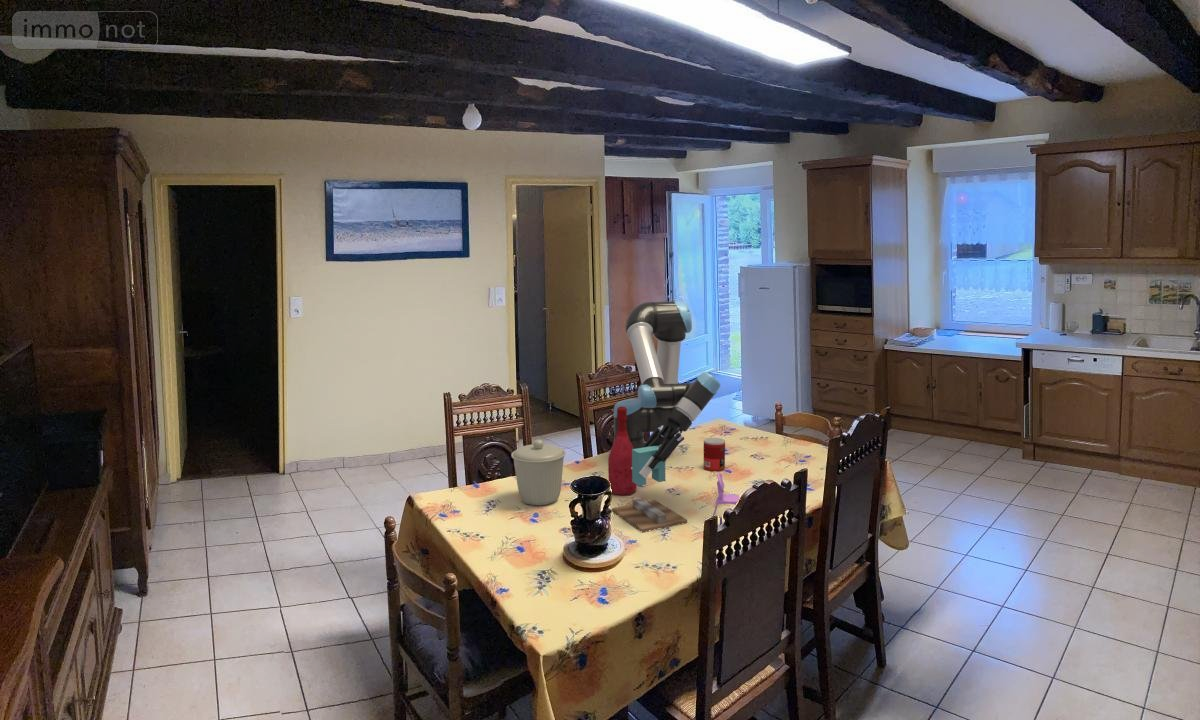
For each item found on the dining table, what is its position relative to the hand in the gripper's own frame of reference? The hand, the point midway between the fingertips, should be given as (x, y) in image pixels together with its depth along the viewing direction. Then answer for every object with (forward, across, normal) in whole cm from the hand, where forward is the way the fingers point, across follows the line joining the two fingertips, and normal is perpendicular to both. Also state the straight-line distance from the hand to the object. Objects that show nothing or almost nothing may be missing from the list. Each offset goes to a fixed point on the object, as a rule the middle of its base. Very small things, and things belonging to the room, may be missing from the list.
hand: (638, 473), depth 244 cm
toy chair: (-6, -14, -28) cm, 32 cm away
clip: (0, 0, -5) cm, 5 cm away
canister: (+26, +31, +4) cm, 40 cm away
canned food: (-24, +31, -45) cm, 60 cm away
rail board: (+8, 0, -13) cm, 16 cm away
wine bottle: (+5, +25, -16) cm, 30 cm away
